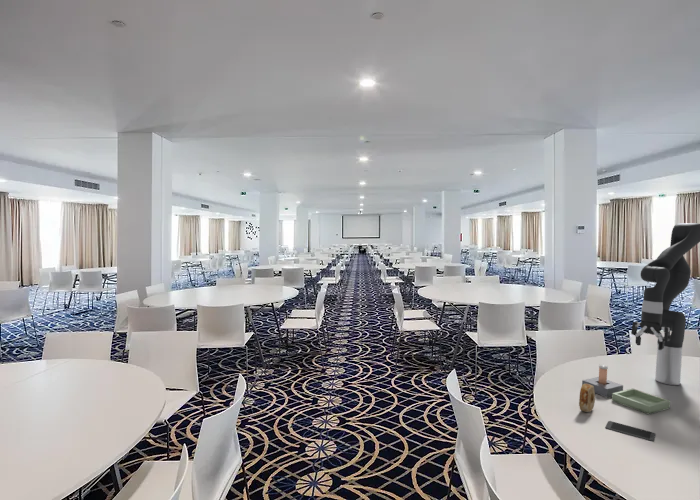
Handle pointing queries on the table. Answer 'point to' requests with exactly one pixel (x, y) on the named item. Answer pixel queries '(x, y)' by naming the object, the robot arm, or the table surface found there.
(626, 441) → the table surface
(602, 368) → the peg
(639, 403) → the parts tray
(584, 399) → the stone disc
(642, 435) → the cell phone
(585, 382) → the grey flat square piece
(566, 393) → the table surface
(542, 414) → the table surface
